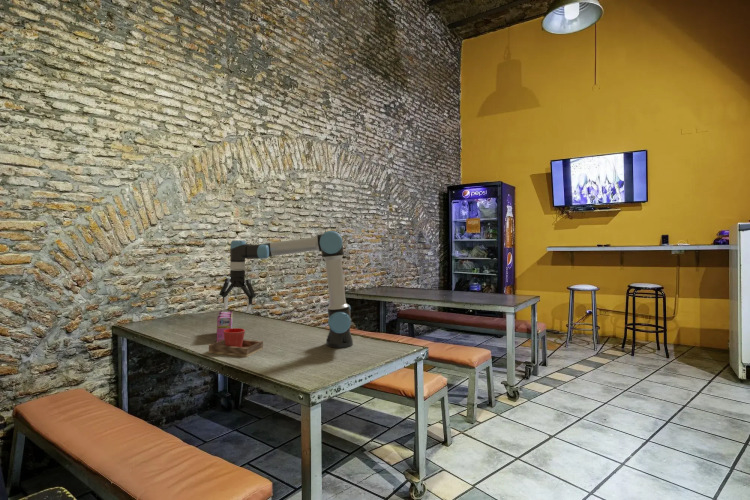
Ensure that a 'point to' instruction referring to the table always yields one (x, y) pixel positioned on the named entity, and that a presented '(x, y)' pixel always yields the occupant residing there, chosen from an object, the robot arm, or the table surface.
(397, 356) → the table surface
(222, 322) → the gum box
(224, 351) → the wooden tray
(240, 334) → the flower pot
